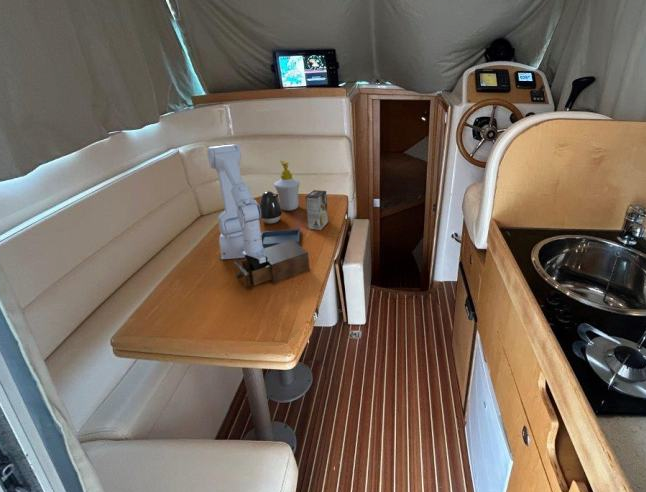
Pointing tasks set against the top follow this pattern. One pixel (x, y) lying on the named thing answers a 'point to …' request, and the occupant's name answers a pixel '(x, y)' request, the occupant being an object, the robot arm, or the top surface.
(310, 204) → the coffee box
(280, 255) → the cabinet
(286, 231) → the tray
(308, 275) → the top surface
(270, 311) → the top surface
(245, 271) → the drawer
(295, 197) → the soap bottle
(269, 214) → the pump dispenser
